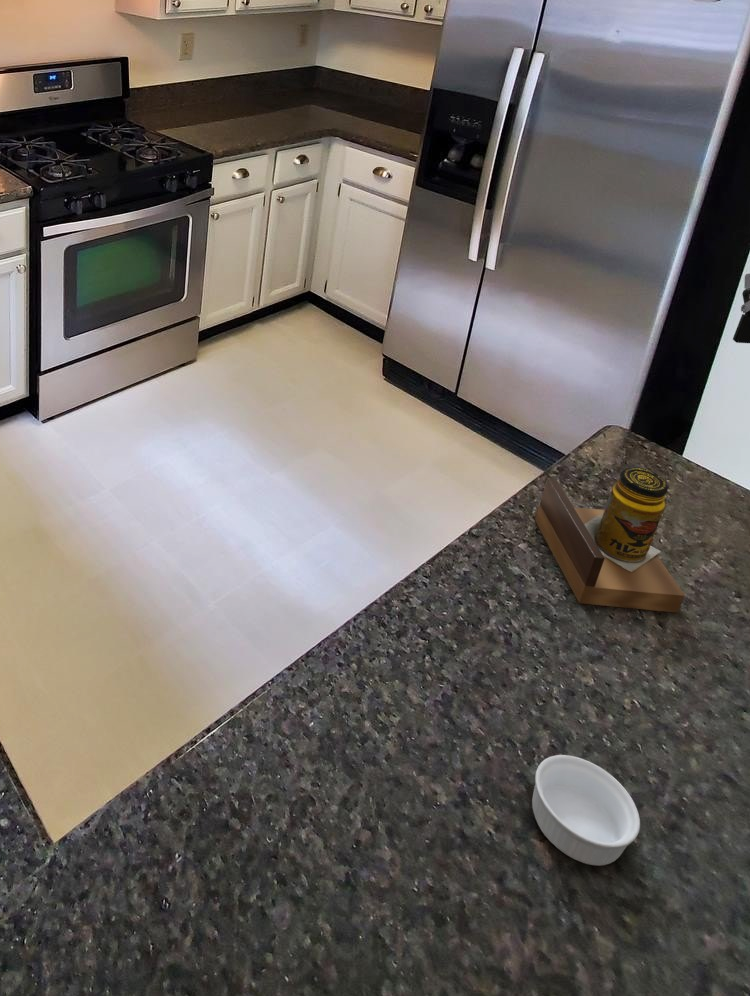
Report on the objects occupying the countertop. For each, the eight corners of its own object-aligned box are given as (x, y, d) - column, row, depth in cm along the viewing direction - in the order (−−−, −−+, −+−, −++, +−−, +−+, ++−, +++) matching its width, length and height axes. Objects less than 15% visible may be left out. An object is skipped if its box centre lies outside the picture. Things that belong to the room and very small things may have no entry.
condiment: (631, 573, 105) (658, 502, 100) (568, 534, 112) (590, 465, 107) (660, 552, 109) (688, 482, 103) (598, 516, 115) (621, 448, 110)
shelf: (620, 527, 117) (636, 484, 114) (678, 612, 103) (697, 566, 100) (534, 520, 119) (547, 477, 115) (579, 603, 105) (595, 557, 101)
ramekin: (616, 797, 82) (628, 770, 80) (638, 888, 74) (651, 860, 72) (520, 769, 84) (530, 742, 83) (532, 853, 77) (542, 826, 75)
